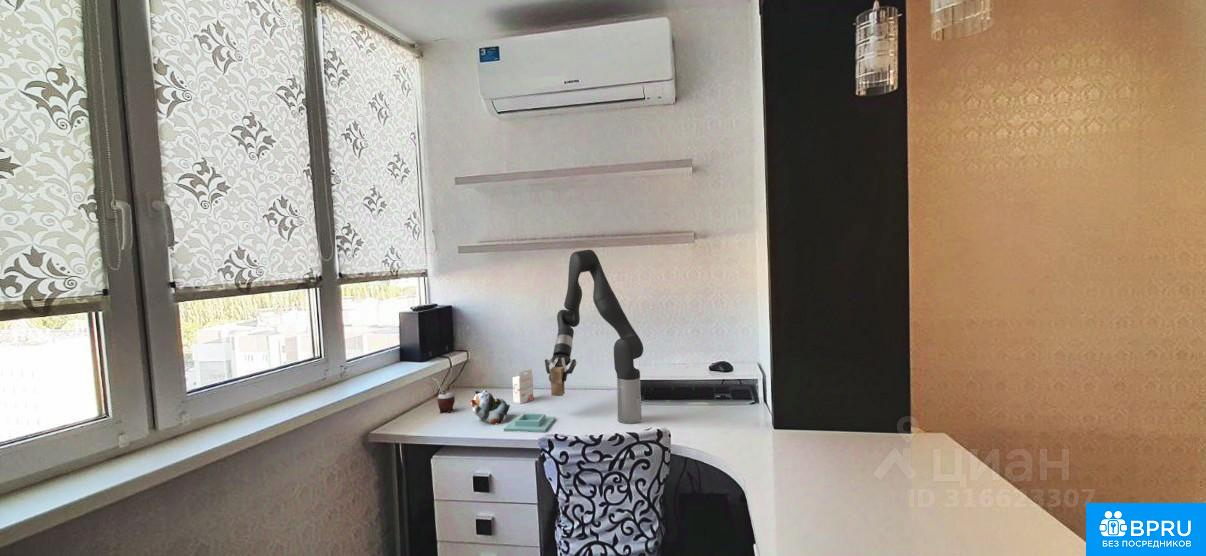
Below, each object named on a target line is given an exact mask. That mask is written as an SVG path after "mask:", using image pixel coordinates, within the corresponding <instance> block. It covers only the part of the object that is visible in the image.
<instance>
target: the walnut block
mask: <svg viewBox="0 0 1206 556" xmlns="http://www.w3.org/2000/svg"><path fill="white" fill-rule="evenodd" d="M550 371H551V382H550V391H551V393H550V394H551V397H563V396H564V395H565V394H566V393H565V390H566V387H565V382H562V377H563V372H564V367H553V368H552V367H551V368H550Z"/></svg>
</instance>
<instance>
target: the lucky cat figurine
mask: <svg viewBox="0 0 1206 556" xmlns="http://www.w3.org/2000/svg"><path fill="white" fill-rule="evenodd" d="M473 397H474V398H473V399H471V400H470V402H471V403H470V407H471V409H472V412H473V413H474V414H475V416H477V417H478V418H479V420H483V421H486V422H487V423H489V424H491V425H497V424H496V423H498V424H501V423H503V422H504V421H505V420H506V419H507V417H508V416H507V415H508V412H509V410H510V407H511V405H510V404H508V403H507V402H506V400H504V399H503V398H498V397H496V398H494V396H493V394H492V393H491V392H488V391H487V390H486V389H484V390H483V391H482V392H481V391H479V390H475V391H474V396H473Z"/></svg>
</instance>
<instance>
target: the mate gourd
mask: <svg viewBox="0 0 1206 556" xmlns="http://www.w3.org/2000/svg"><path fill="white" fill-rule="evenodd" d="M431 379H432V380H433V381H435V382H436V383H437V385H438V388H439V390H440V393H439V394H438V397H437V405H438V409H439V414H443V413H448V414H451V413H452V411H454V405H455V402H456V401H455V400H456V399H455V395H454V393H453V392H452V391H444V392H443V389H442V386H441V384H440V382H439V381H438V380H437V379H435V378H433V377H432V378H431Z"/></svg>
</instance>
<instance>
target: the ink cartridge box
mask: <svg viewBox="0 0 1206 556" xmlns="http://www.w3.org/2000/svg"><path fill="white" fill-rule="evenodd" d="M533 377H534V376H533V369H532V368H529V369H525V370H522V371H519V372H518V375H517V376H513V377H512V400H513V403H515V404H520V405H521V403H522V404H524V402H525V403H527V401H528V402H531V401H533V400H534V379H533ZM530 400H531V401H530Z"/></svg>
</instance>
